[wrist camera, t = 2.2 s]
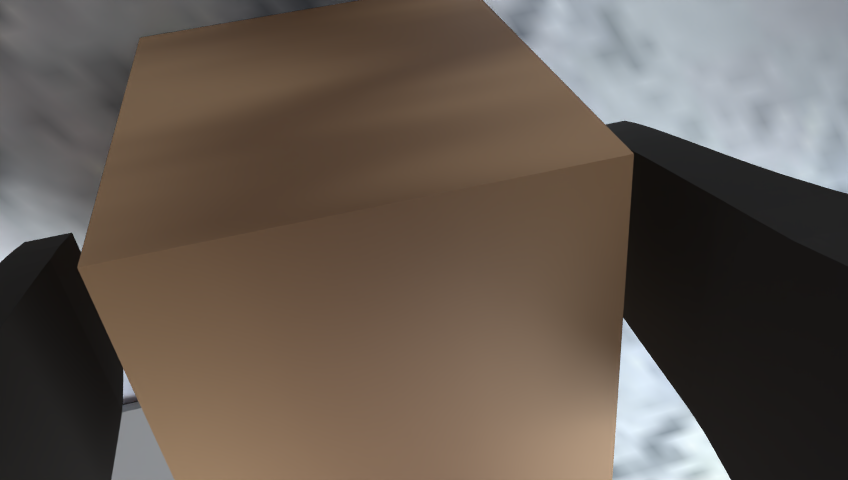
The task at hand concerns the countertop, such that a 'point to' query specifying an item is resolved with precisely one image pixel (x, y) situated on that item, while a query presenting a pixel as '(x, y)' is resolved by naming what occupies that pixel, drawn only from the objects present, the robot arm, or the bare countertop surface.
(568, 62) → the countertop surface
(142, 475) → the slate mat
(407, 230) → the walnut block
